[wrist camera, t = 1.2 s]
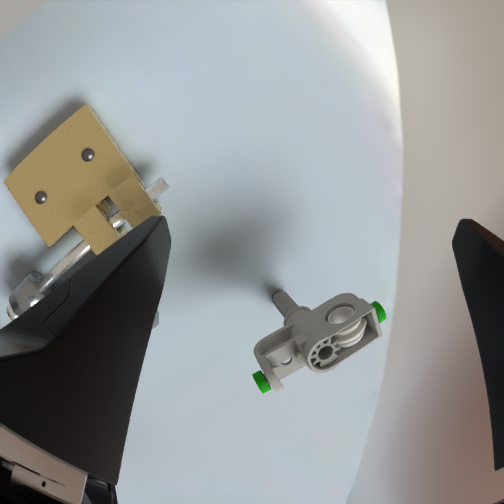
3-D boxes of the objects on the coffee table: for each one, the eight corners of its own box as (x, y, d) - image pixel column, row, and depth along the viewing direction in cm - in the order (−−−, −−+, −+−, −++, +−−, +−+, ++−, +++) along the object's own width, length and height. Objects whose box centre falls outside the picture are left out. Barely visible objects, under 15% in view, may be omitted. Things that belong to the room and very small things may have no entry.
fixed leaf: (82, 369, 27) (76, 391, 24) (11, 292, 23) (-4, 307, 20) (227, 263, 28) (235, 277, 25) (155, 165, 24) (153, 165, 21)
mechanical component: (224, 313, 29) (252, 379, 20) (321, 258, 30) (383, 300, 21) (239, 336, 30) (270, 405, 21) (331, 283, 31) (391, 330, 22)
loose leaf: (81, 272, 25) (70, 287, 21) (13, 179, 21) (-6, 182, 18) (161, 206, 25) (160, 213, 22) (91, 107, 22) (80, 100, 18)
